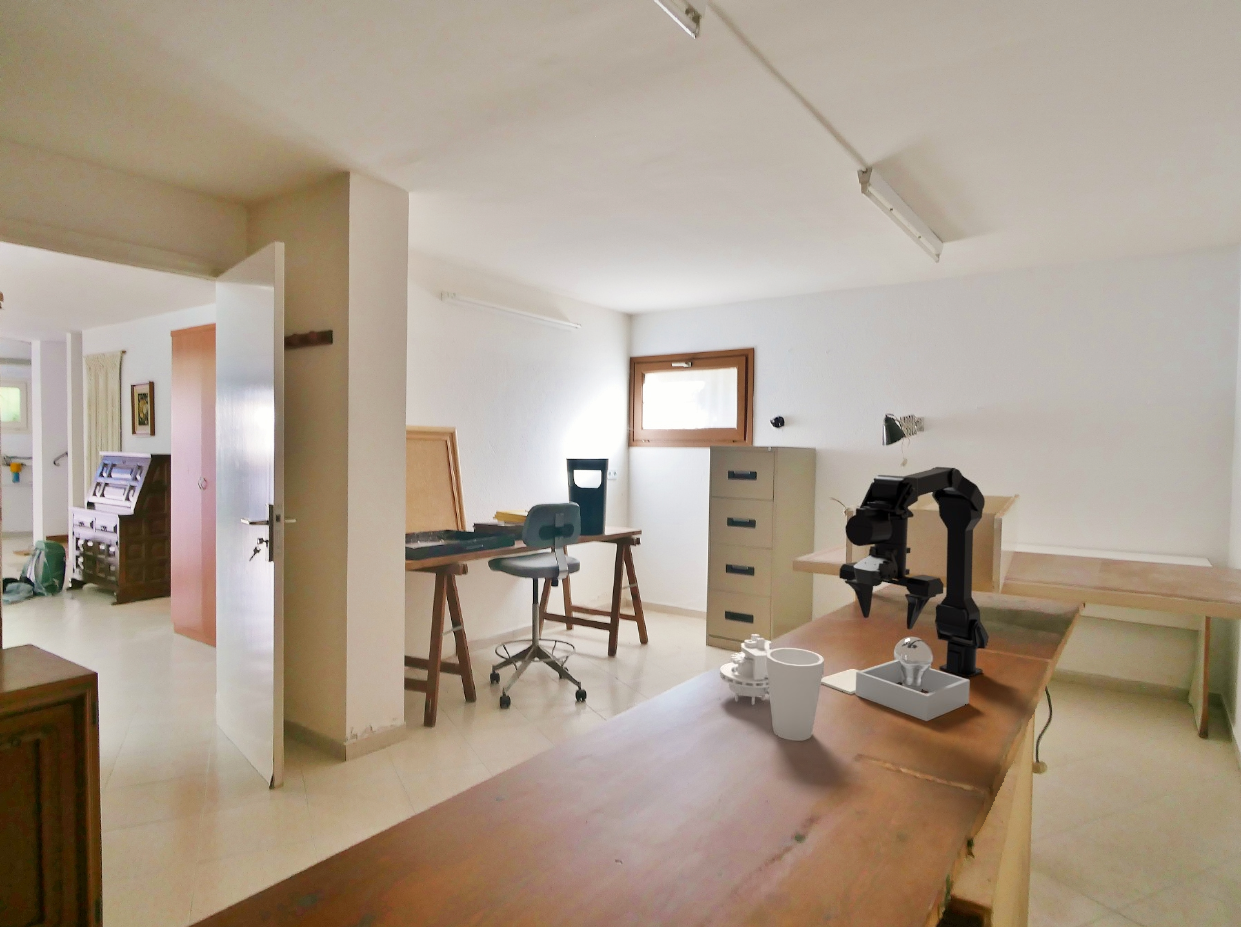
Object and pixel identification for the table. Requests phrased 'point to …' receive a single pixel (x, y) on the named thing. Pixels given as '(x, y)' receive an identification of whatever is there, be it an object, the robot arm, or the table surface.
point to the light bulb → (913, 661)
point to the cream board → (842, 681)
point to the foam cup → (794, 690)
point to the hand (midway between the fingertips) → (887, 623)
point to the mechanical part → (748, 669)
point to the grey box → (913, 691)
